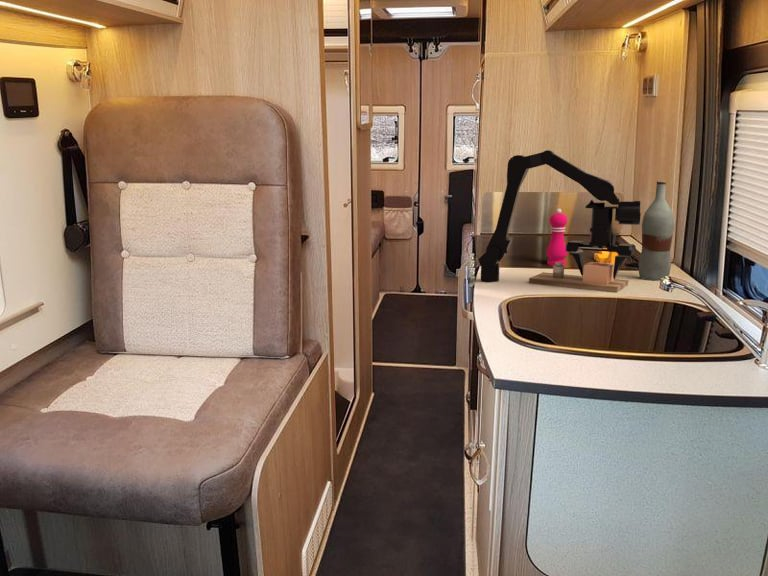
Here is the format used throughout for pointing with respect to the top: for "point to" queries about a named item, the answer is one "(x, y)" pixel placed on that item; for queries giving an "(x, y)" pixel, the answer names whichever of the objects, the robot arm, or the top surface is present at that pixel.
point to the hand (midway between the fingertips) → (598, 277)
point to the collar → (598, 273)
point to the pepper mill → (557, 239)
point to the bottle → (657, 237)
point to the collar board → (574, 280)
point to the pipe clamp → (605, 257)
